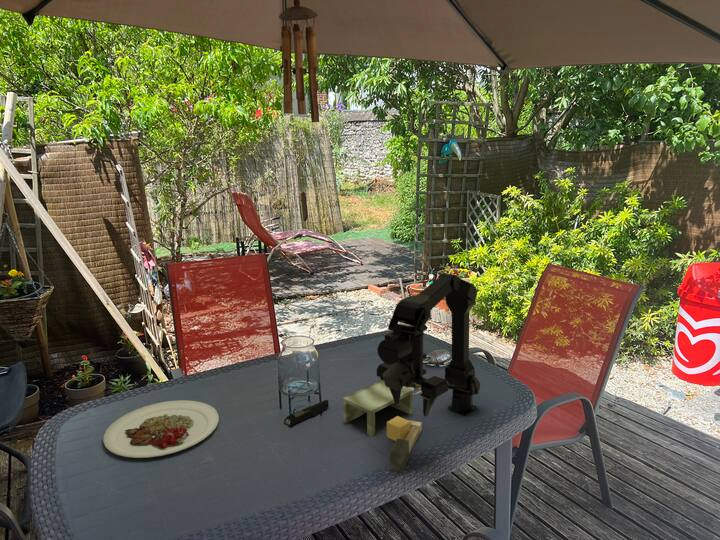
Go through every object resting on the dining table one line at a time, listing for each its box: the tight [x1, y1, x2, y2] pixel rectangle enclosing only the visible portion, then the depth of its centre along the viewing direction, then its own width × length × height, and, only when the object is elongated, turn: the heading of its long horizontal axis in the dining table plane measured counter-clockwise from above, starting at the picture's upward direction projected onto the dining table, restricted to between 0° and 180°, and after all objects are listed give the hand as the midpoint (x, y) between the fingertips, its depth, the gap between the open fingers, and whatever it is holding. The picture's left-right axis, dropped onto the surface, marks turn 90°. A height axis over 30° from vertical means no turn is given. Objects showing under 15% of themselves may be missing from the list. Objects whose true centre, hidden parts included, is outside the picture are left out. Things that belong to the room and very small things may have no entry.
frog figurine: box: [407, 382, 422, 395], centre depth 166 cm, size 12×12×4 cm
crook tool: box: [389, 419, 423, 473], centre depth 131 cm, size 8×20×5 cm, turn 158°
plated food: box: [102, 399, 220, 459], centre depth 141 cm, size 30×30×3 cm
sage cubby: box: [342, 379, 414, 437], centre depth 146 cm, size 18×11×8 cm, turn 135°
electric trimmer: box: [283, 399, 329, 428], centre depth 148 cm, size 4×15×3 cm, turn 134°
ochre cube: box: [386, 415, 410, 442], centre depth 136 cm, size 4×4×4 cm
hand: (410, 409), depth 126 cm, fingers open, 9 cm apart
